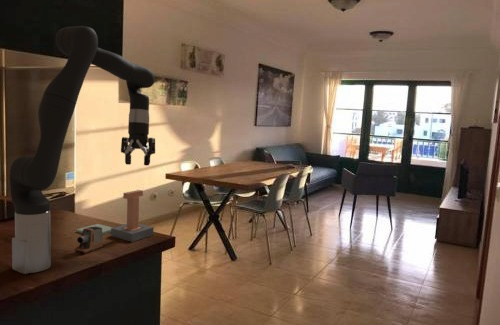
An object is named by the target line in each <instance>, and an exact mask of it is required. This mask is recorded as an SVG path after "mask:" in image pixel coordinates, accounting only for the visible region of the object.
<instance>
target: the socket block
mask: <svg viewBox="0 0 500 325" xmlns="http://www.w3.org/2000/svg"><path fill="white" fill-rule="evenodd" d="M125 227H127V223H125V224H121V225H117V226H115V227H112V228H111V232H110V237H113V238H117V239H120V240H124V241H128V242H131V243H133V242H134V243H135V242H136V241H139V240H143V239H145V238H148V237H151V236H154V227H153V226H150V225H146V224H142V223H138V227H142V228H141V229H138V230H135V231H130V230H126V229H123V228H125Z"/></svg>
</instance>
